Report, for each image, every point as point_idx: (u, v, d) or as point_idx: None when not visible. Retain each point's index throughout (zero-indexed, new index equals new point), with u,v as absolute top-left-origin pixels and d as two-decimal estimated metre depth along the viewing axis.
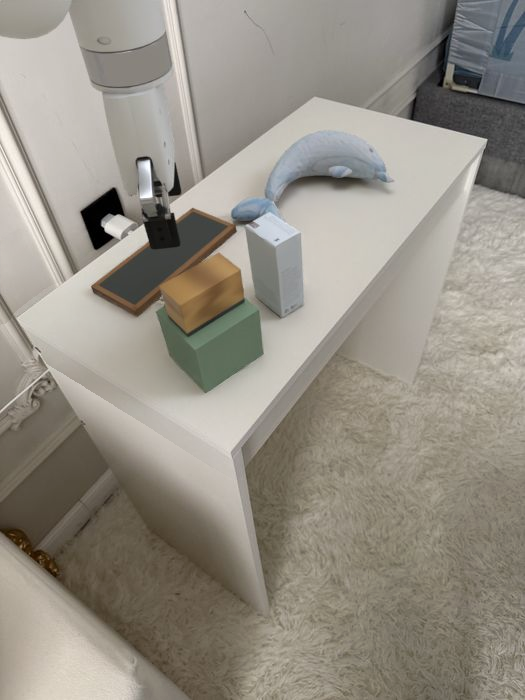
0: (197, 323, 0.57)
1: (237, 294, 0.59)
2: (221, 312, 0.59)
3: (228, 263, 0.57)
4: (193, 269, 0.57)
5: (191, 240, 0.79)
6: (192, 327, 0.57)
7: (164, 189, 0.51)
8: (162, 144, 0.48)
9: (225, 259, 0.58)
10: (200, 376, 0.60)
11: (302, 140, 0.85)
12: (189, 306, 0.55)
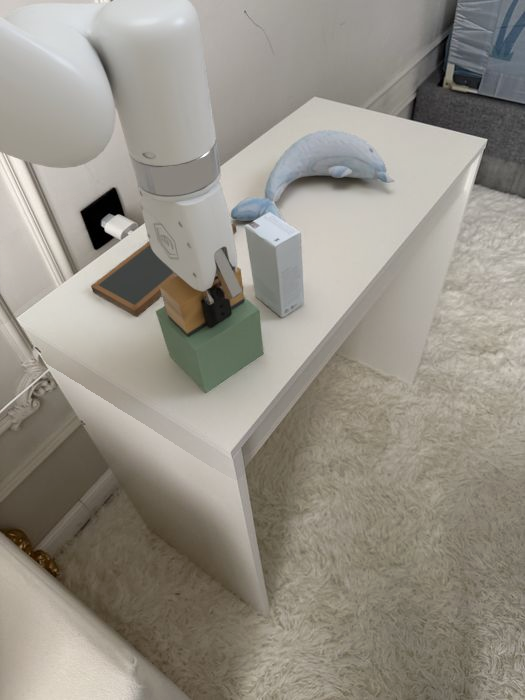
0: (197, 323, 0.57)
1: None
2: None
3: None
4: None
5: None
6: (192, 327, 0.57)
7: None
8: (232, 230, 0.49)
9: None
10: (200, 376, 0.60)
11: (302, 140, 0.85)
12: (189, 306, 0.55)
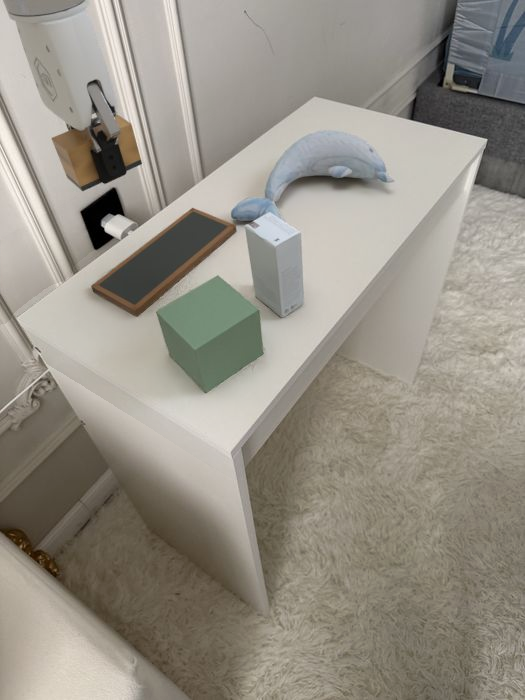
0: (90, 177, 0.59)
1: (132, 152, 0.61)
2: None
3: (120, 119, 0.59)
4: None
5: (191, 240, 0.79)
6: (85, 180, 0.59)
7: (112, 114, 0.54)
8: (105, 64, 0.51)
9: (118, 117, 0.60)
10: (200, 376, 0.60)
11: (302, 140, 0.85)
12: (78, 155, 0.57)
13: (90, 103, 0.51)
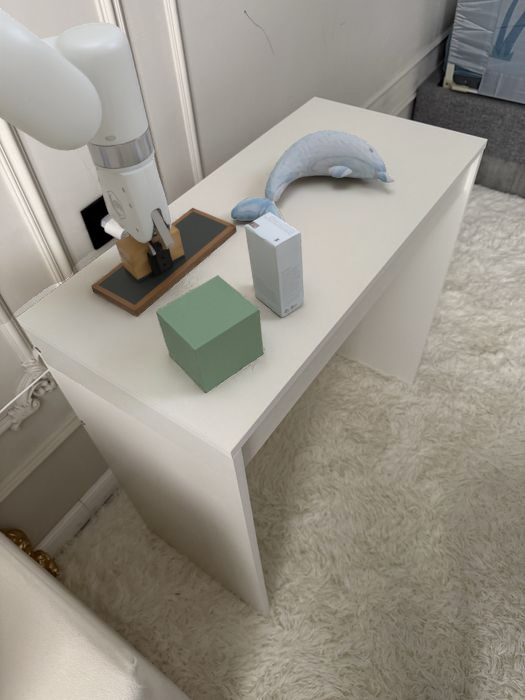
0: (145, 271, 0.74)
1: (178, 250, 0.75)
2: None
3: None
4: None
5: (191, 240, 0.79)
6: (141, 274, 0.73)
7: (167, 229, 0.68)
8: None
9: None
10: (200, 376, 0.60)
11: (302, 140, 0.85)
12: (138, 257, 0.71)
13: (152, 225, 0.66)
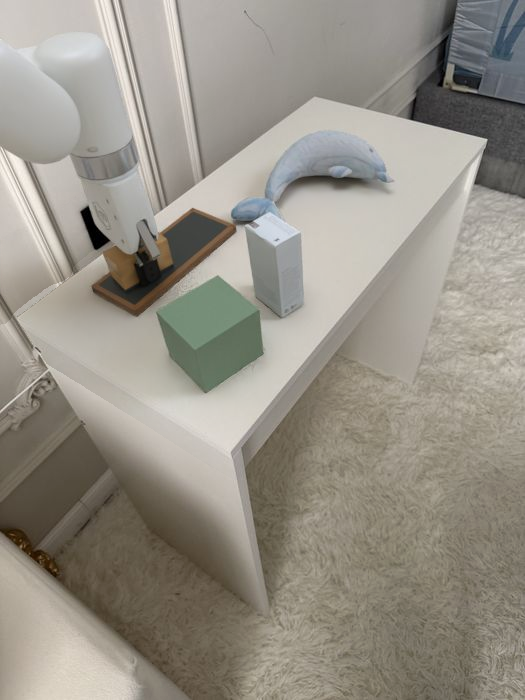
0: (133, 282, 0.72)
1: (166, 259, 0.74)
2: None
3: (158, 234, 0.73)
4: None
5: (191, 240, 0.79)
6: (129, 285, 0.72)
7: (153, 240, 0.67)
8: (150, 207, 0.64)
9: None
10: (200, 376, 0.60)
11: (302, 140, 0.85)
12: (125, 267, 0.70)
13: (138, 236, 0.65)
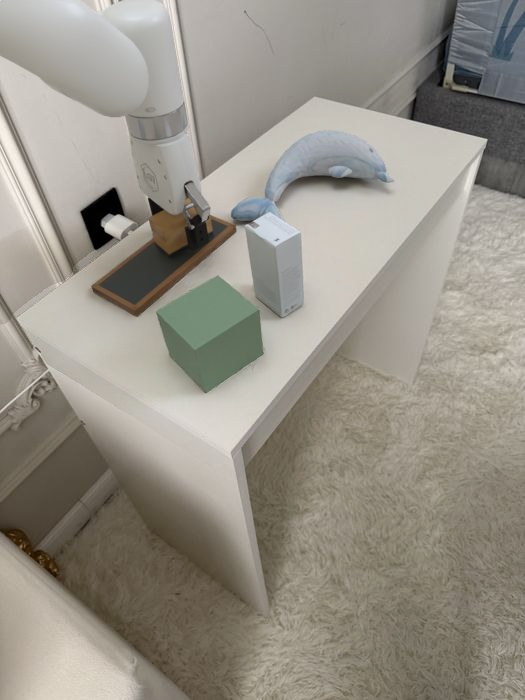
0: (176, 246, 0.77)
1: (207, 226, 0.78)
2: None
3: None
4: None
5: None
6: (173, 249, 0.77)
7: None
8: (197, 169, 0.68)
9: None
10: (200, 376, 0.60)
11: (302, 140, 0.85)
12: (170, 232, 0.74)
13: (184, 197, 0.68)
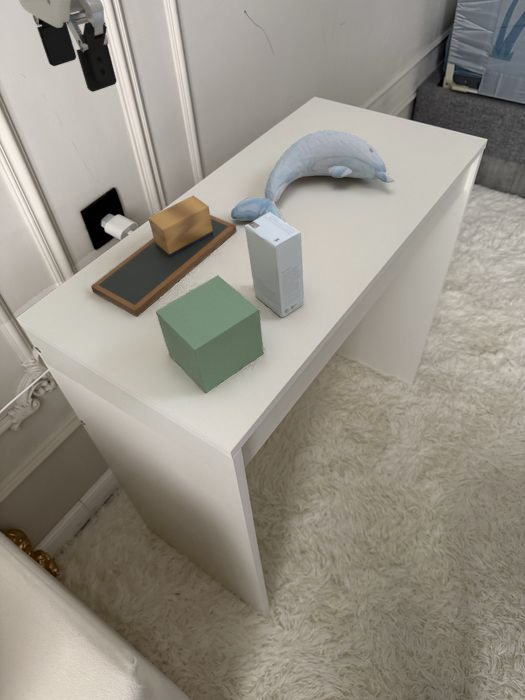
0: (176, 246, 0.77)
1: (207, 226, 0.78)
2: (195, 240, 0.78)
3: (199, 202, 0.77)
4: (173, 206, 0.77)
5: None
6: (173, 249, 0.77)
7: None
8: None
9: (197, 199, 0.77)
10: (200, 376, 0.60)
11: (302, 140, 0.85)
12: (170, 232, 0.74)
13: None
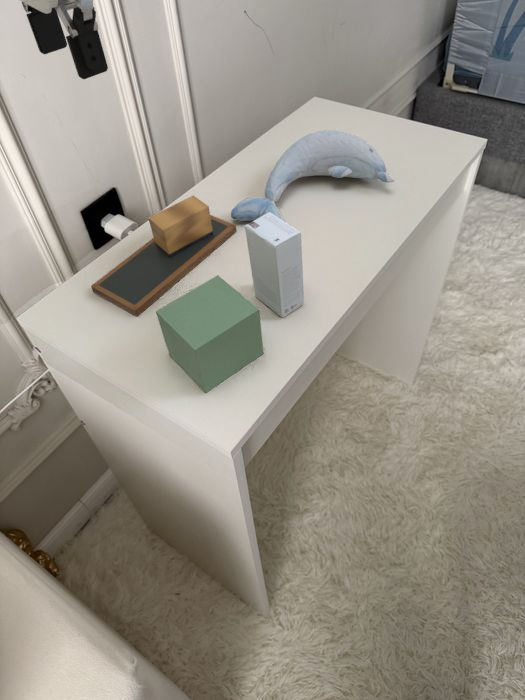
0: (176, 246, 0.77)
1: (207, 226, 0.78)
2: (195, 240, 0.78)
3: (199, 202, 0.77)
4: (173, 206, 0.77)
5: None
6: (173, 249, 0.77)
7: None
8: None
9: (197, 199, 0.77)
10: (200, 376, 0.60)
11: (302, 140, 0.85)
12: (170, 232, 0.74)
13: None
